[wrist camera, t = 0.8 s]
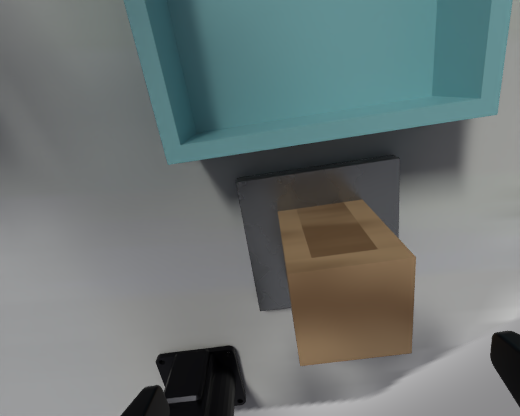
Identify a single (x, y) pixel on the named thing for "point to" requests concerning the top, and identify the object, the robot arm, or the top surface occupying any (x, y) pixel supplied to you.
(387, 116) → the bin
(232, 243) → the top surface
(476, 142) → the top surface
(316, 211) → the taped shipping carton
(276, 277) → the stud plate
